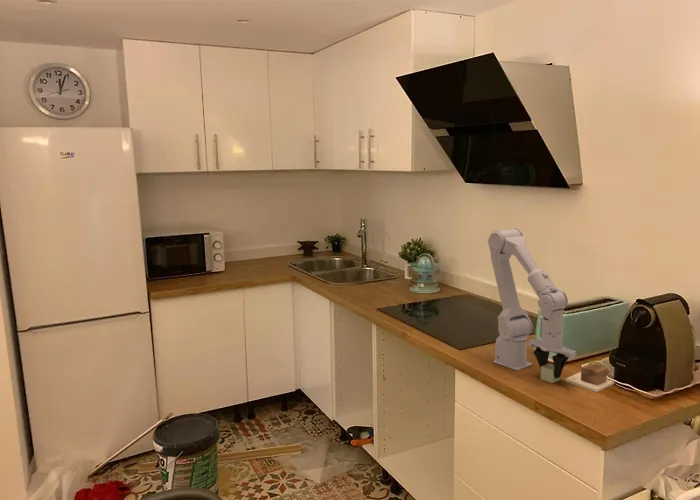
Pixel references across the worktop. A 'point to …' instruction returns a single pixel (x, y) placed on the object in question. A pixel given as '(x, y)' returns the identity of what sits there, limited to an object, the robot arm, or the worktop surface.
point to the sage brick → (548, 373)
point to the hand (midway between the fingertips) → (550, 374)
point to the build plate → (577, 381)
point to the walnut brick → (594, 374)
